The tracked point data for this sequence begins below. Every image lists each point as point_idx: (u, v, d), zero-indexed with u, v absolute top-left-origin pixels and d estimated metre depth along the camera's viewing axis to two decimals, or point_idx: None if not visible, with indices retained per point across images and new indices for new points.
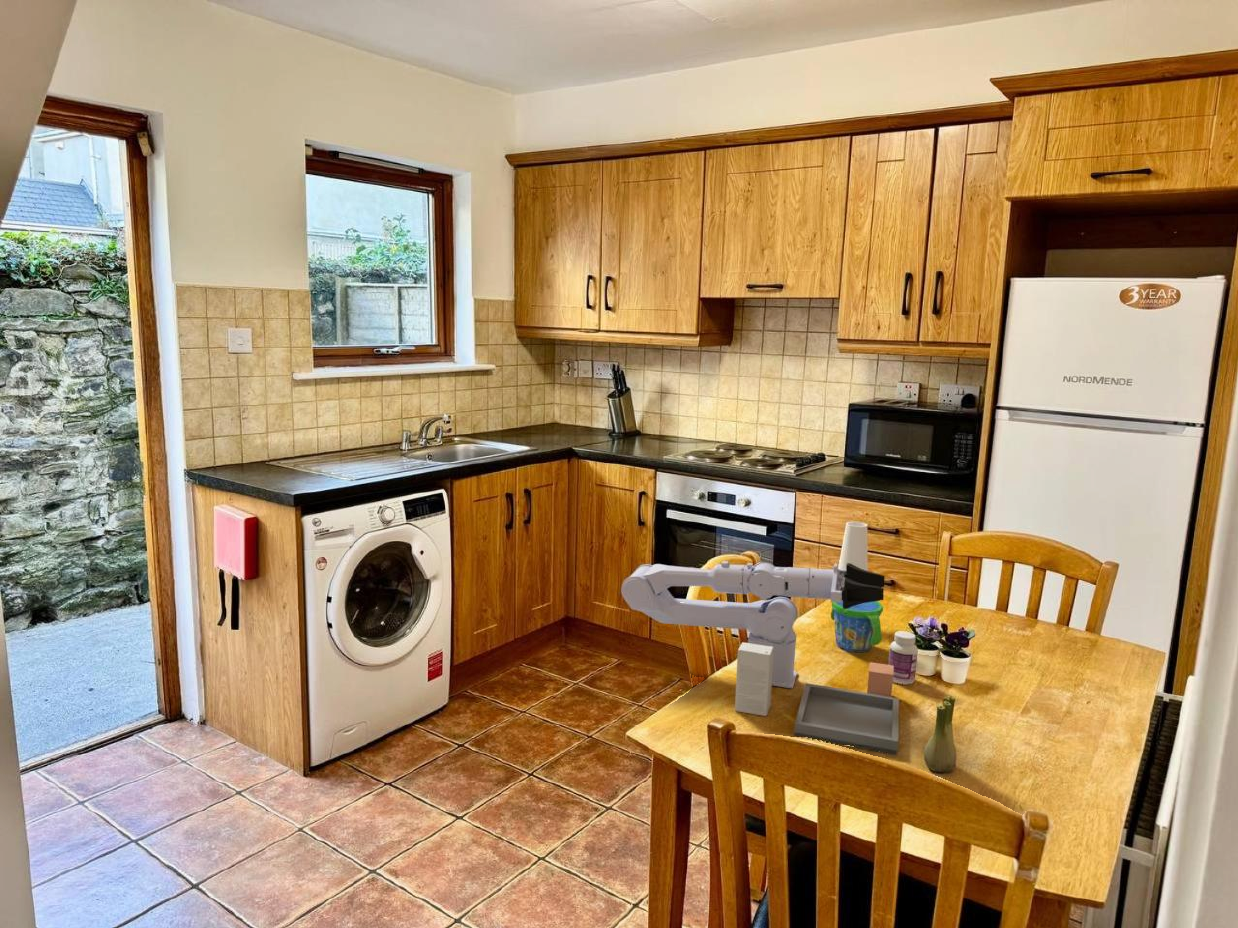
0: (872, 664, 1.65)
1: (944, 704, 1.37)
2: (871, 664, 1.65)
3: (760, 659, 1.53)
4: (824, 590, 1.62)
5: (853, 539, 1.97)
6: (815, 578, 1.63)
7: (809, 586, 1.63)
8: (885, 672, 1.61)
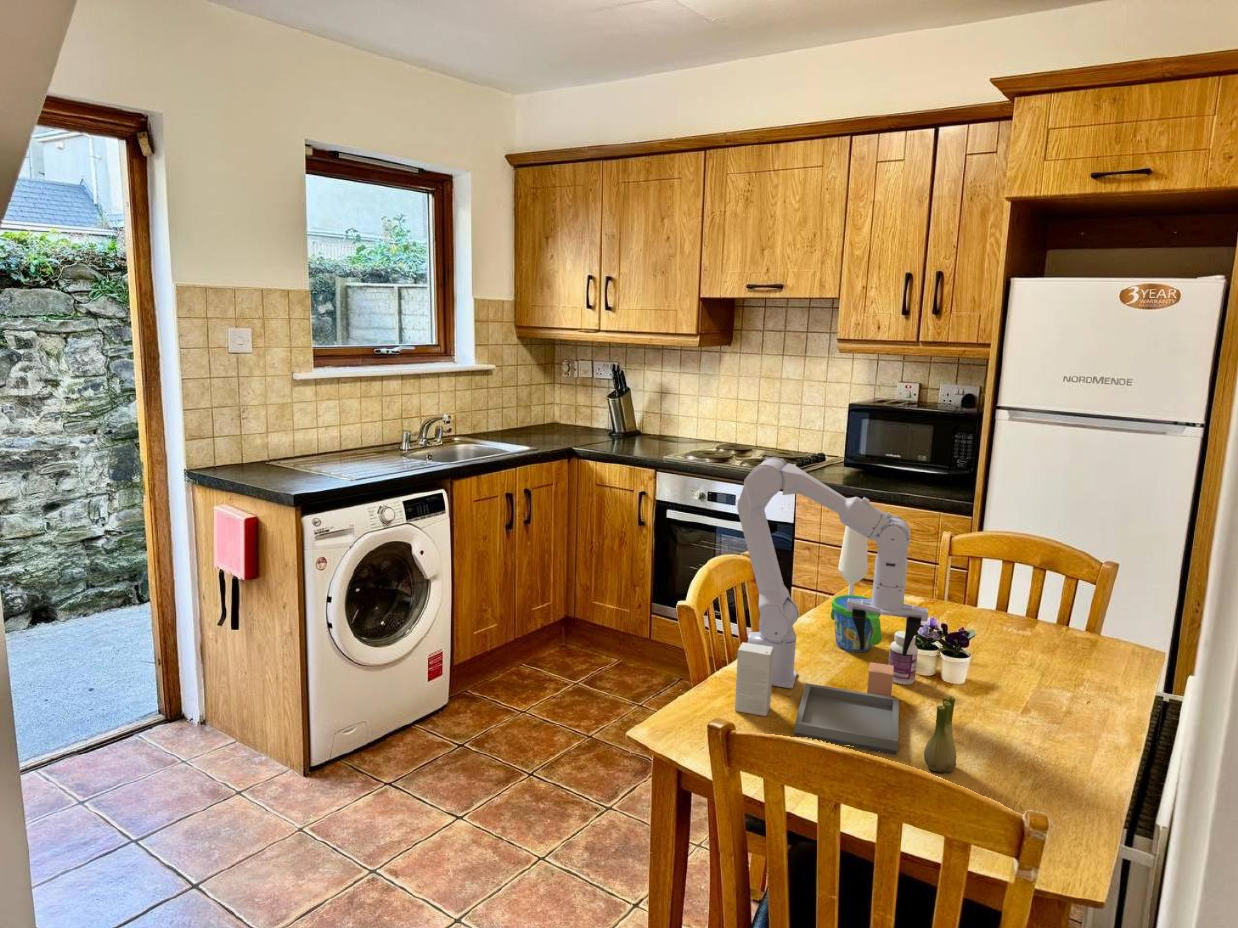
0: (872, 664, 1.65)
1: (944, 704, 1.37)
2: (871, 664, 1.65)
3: (760, 659, 1.53)
4: (872, 594, 1.62)
5: (853, 539, 1.97)
6: (876, 589, 1.59)
7: None
8: (885, 672, 1.61)
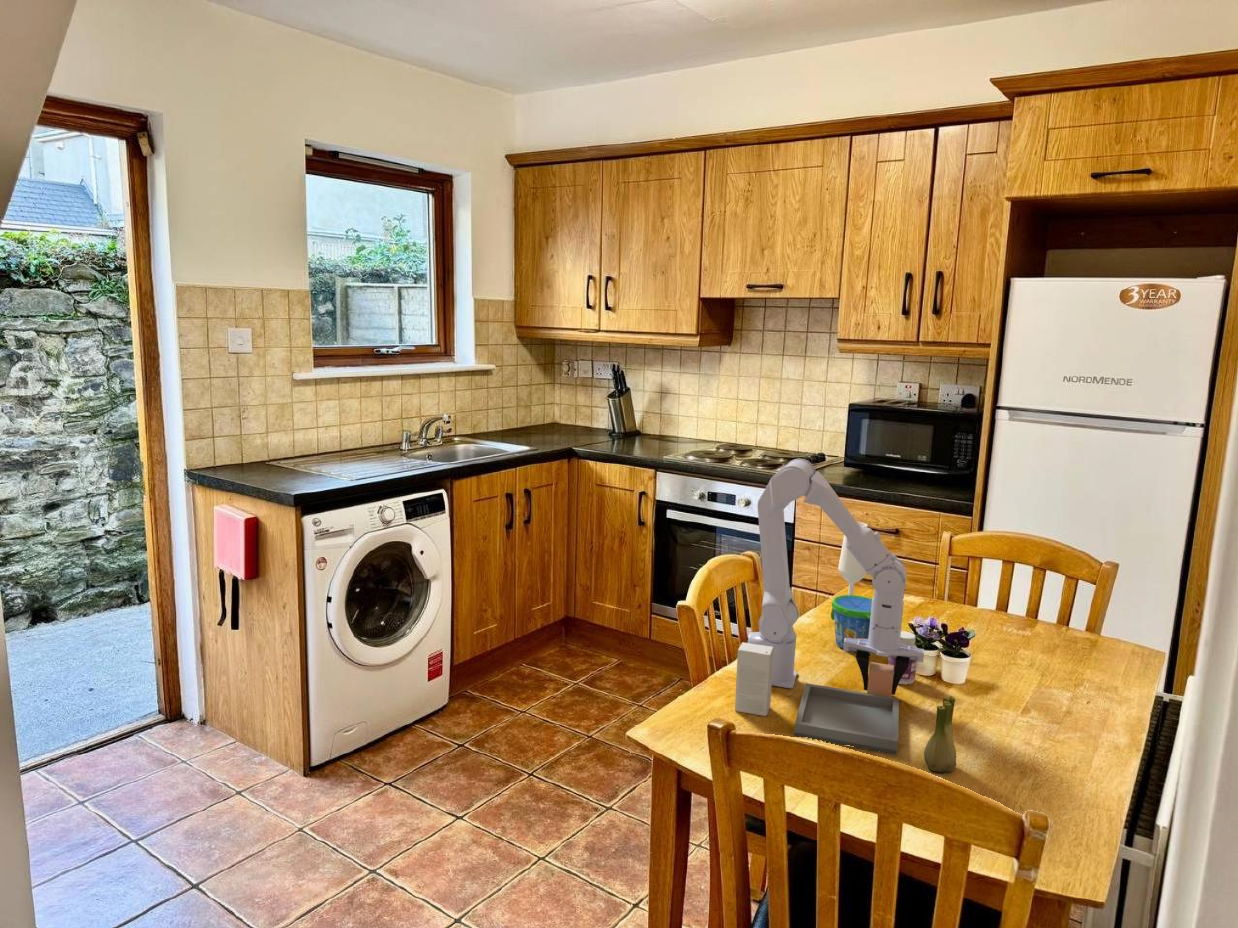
0: (872, 664, 1.65)
1: (944, 704, 1.37)
2: (871, 664, 1.65)
3: (760, 659, 1.53)
4: None
5: None
6: (872, 630, 1.61)
7: (870, 621, 1.62)
8: (885, 672, 1.61)
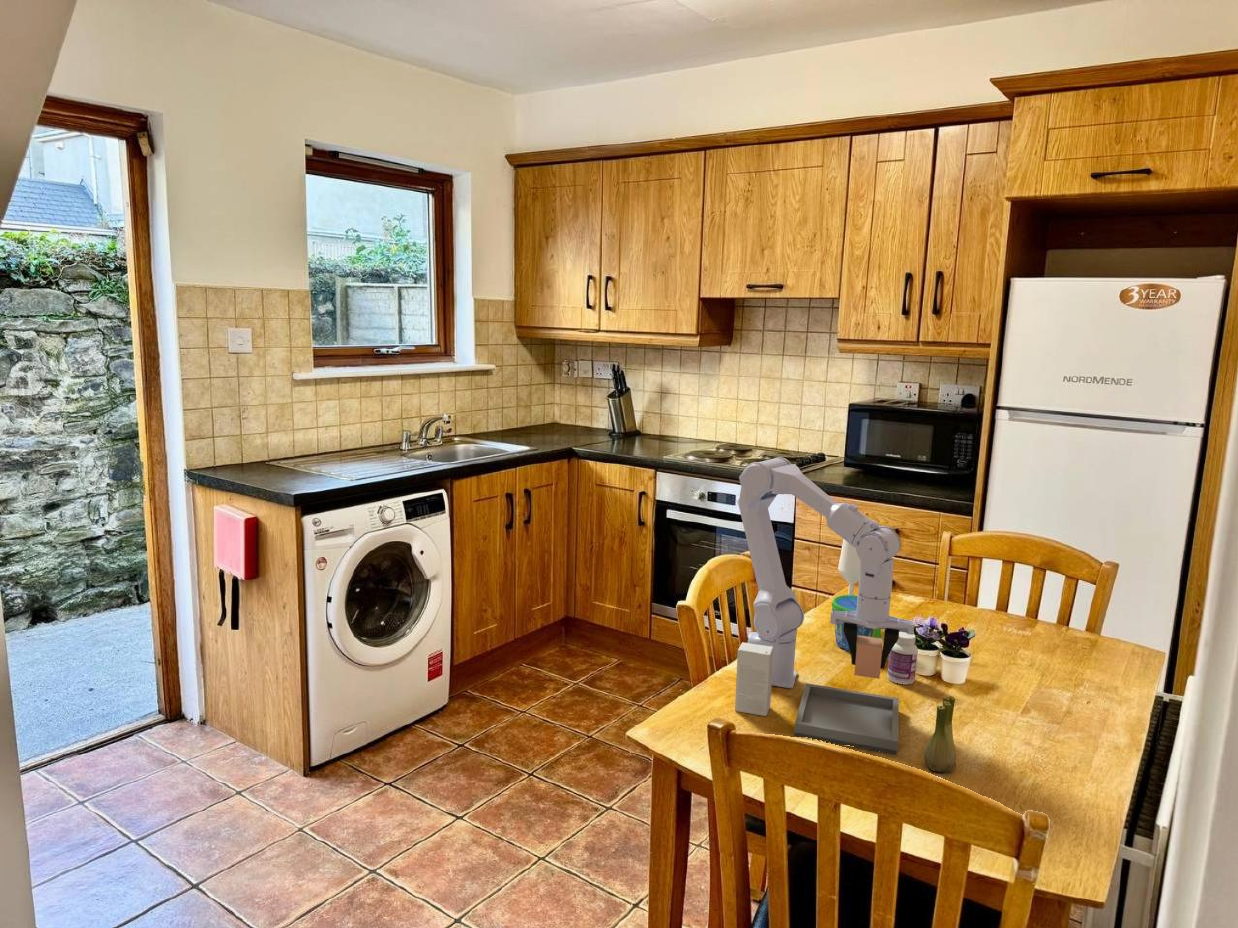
0: (860, 637, 1.58)
1: (944, 704, 1.37)
2: (859, 637, 1.58)
3: (760, 659, 1.53)
4: None
5: None
6: (860, 601, 1.54)
7: (858, 593, 1.55)
8: (874, 645, 1.55)
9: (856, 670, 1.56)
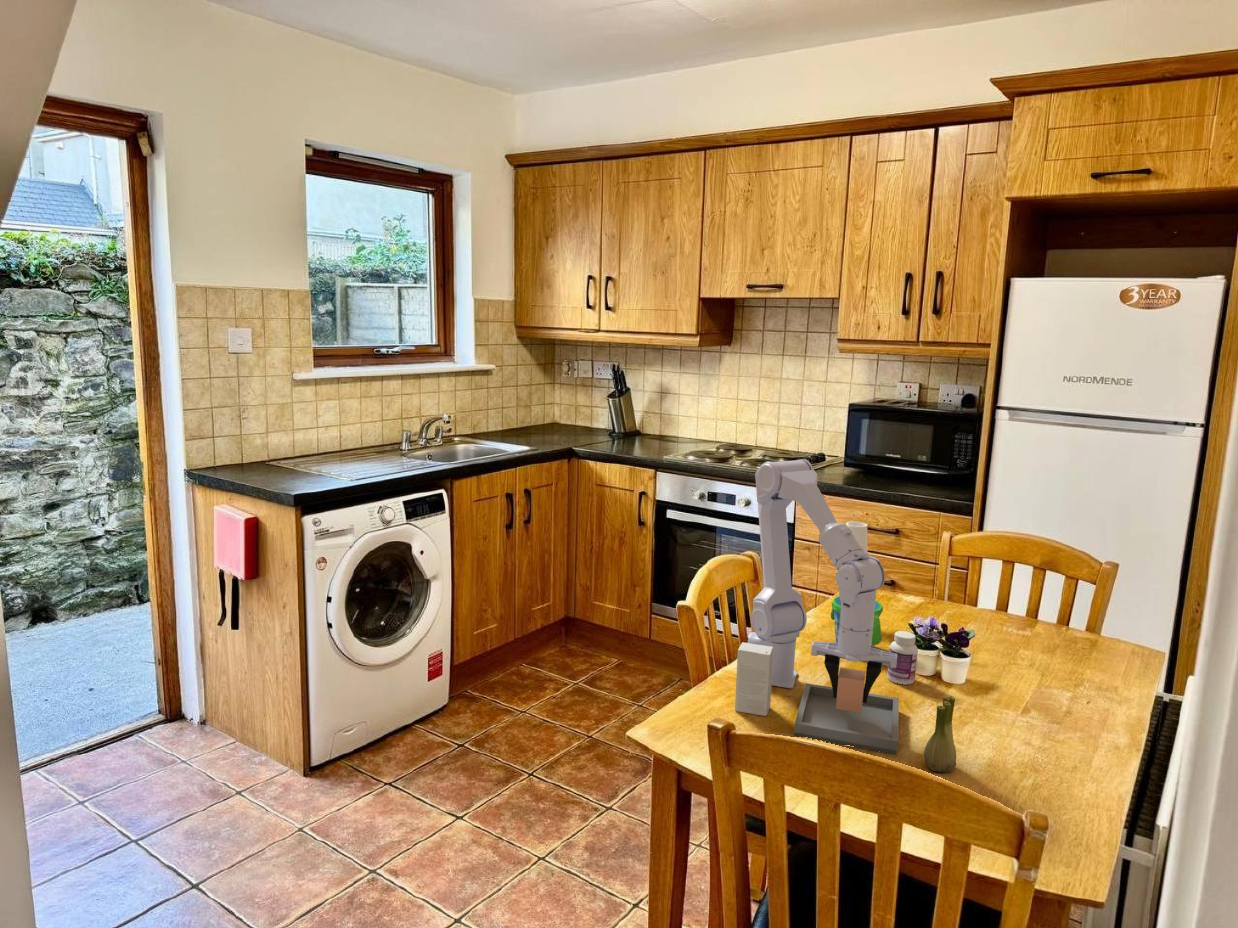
0: (842, 669, 1.53)
1: (944, 704, 1.37)
2: (841, 670, 1.53)
3: (760, 659, 1.53)
4: None
5: None
6: (841, 633, 1.49)
7: (839, 624, 1.51)
8: (856, 678, 1.50)
9: (837, 704, 1.51)
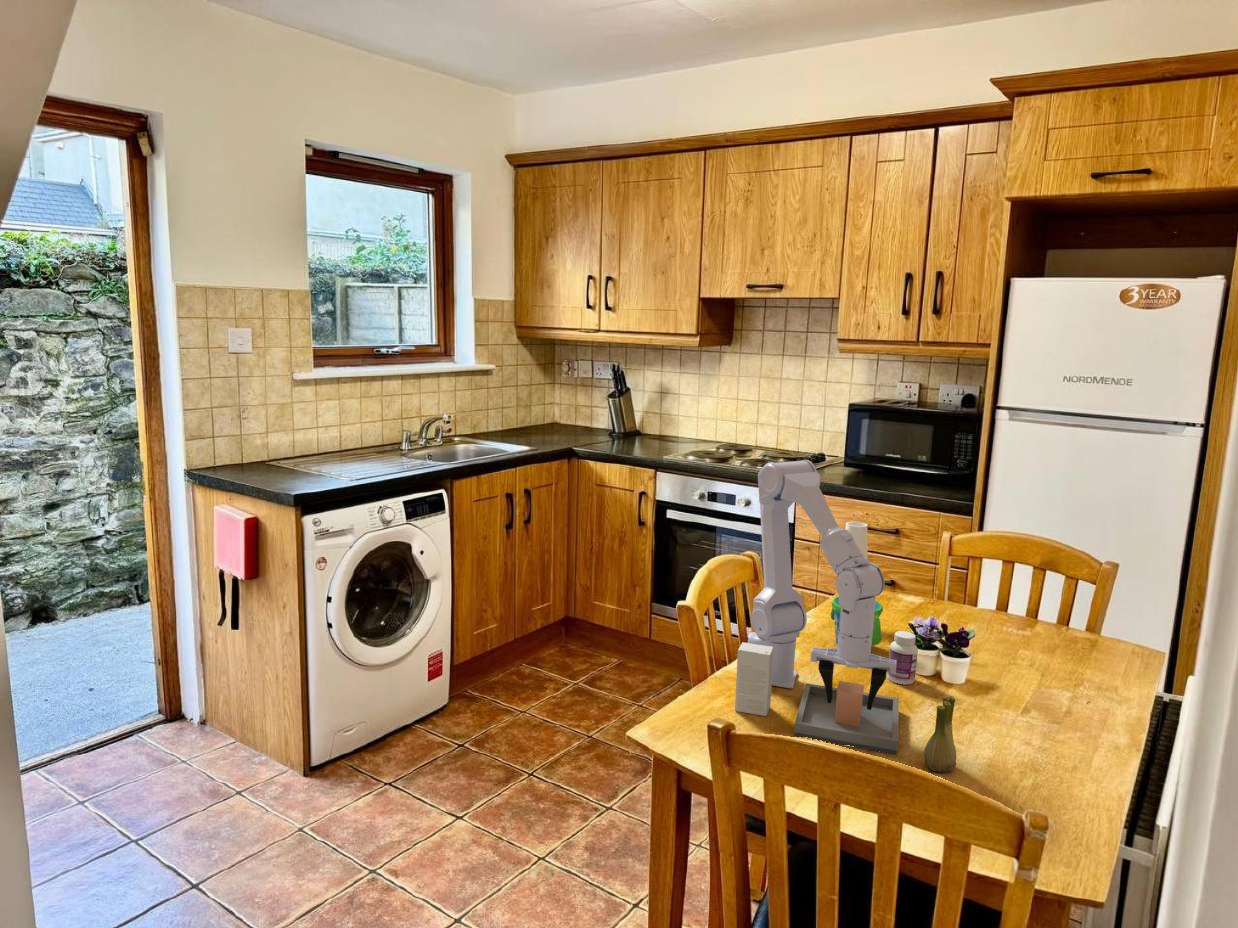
0: (841, 683, 1.54)
1: (944, 704, 1.37)
2: (840, 683, 1.54)
3: (760, 659, 1.53)
4: None
5: None
6: (841, 639, 1.50)
7: (839, 630, 1.51)
8: (854, 692, 1.51)
9: (836, 717, 1.52)
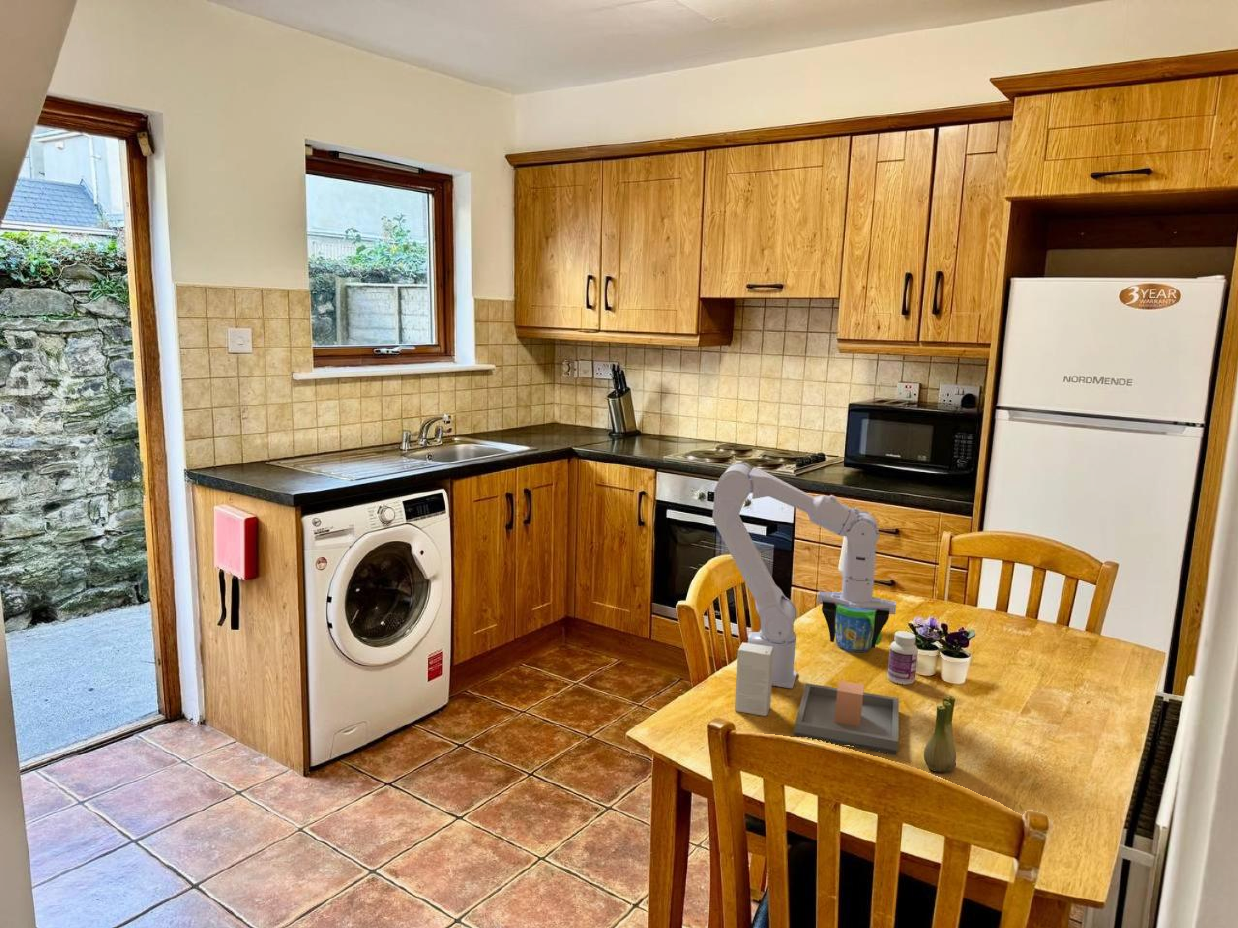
0: (841, 683, 1.54)
1: (944, 704, 1.37)
2: (840, 683, 1.54)
3: (760, 659, 1.53)
4: None
5: None
6: (845, 582, 1.63)
7: (843, 574, 1.64)
8: (854, 692, 1.51)
9: (836, 717, 1.52)
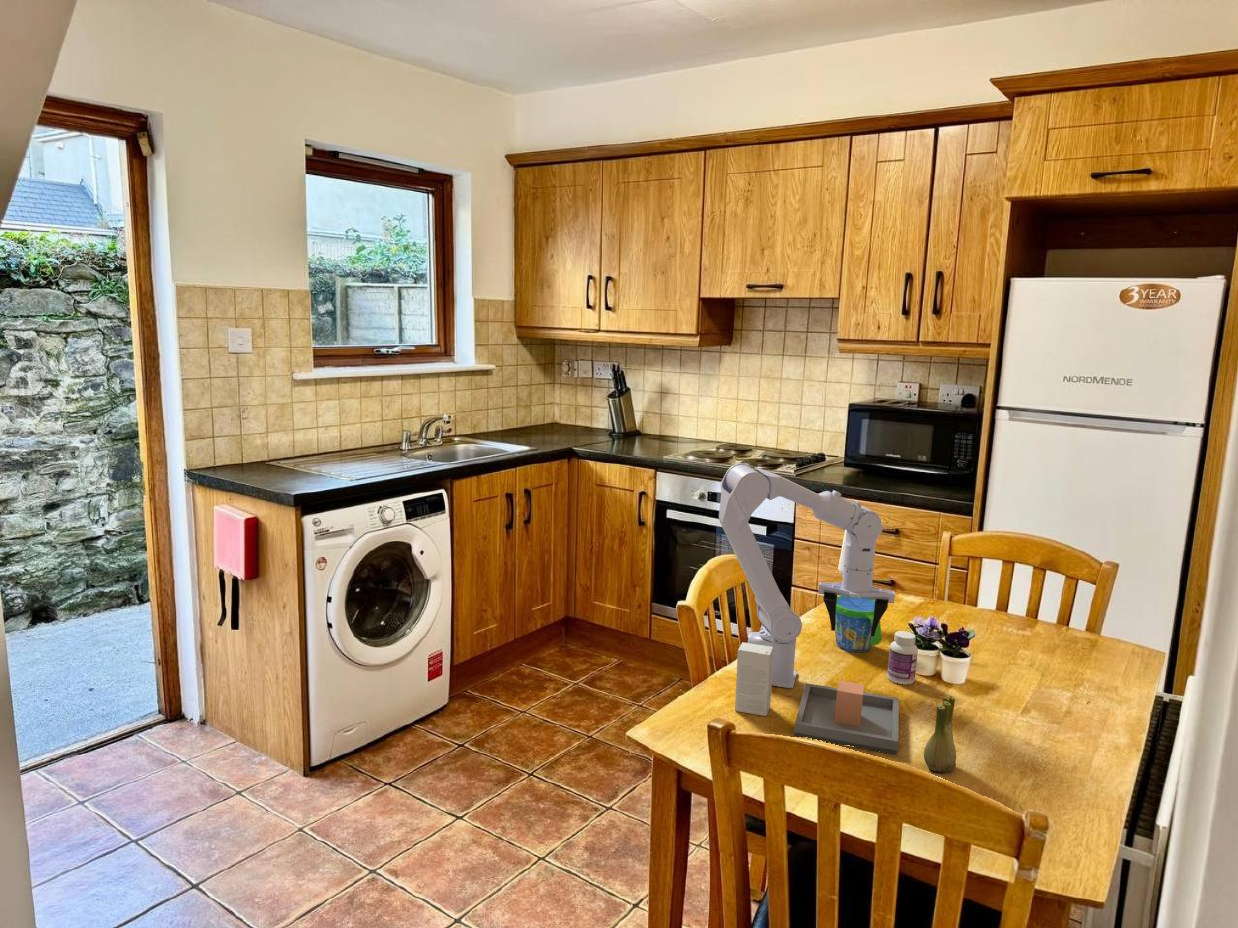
0: (841, 683, 1.54)
1: (944, 704, 1.37)
2: (840, 683, 1.54)
3: (760, 659, 1.53)
4: None
5: None
6: (845, 573, 1.68)
7: None
8: (854, 692, 1.51)
9: (836, 717, 1.52)
